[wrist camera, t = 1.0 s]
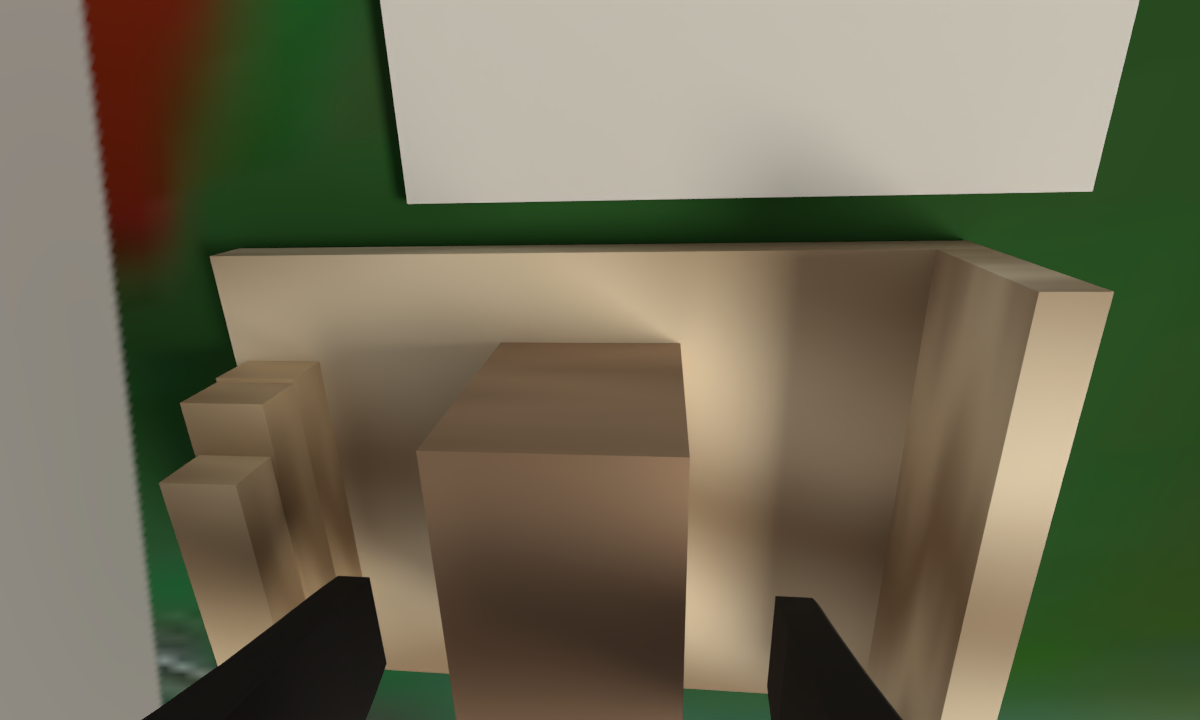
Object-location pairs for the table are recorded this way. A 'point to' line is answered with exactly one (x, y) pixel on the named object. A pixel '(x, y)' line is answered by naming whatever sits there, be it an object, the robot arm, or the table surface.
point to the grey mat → (750, 97)
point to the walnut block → (563, 533)
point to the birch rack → (734, 426)
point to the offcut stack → (260, 499)
